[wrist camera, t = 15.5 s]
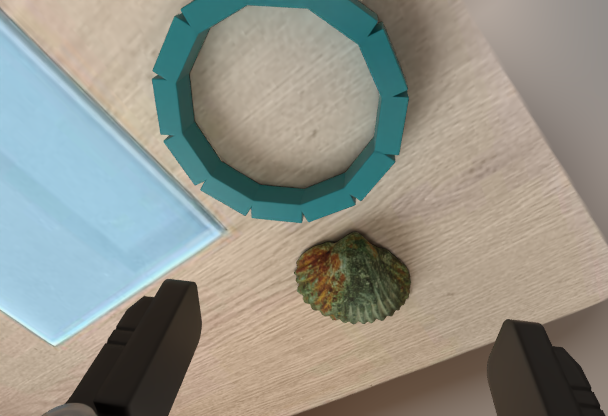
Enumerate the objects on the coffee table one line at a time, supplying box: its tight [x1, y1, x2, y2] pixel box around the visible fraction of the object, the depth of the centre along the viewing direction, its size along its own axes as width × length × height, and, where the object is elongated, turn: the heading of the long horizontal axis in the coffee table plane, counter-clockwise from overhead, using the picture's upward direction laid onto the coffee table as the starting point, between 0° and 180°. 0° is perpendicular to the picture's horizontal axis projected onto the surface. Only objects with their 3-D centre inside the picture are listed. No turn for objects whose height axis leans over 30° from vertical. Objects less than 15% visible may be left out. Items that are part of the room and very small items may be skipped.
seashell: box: [294, 232, 411, 324], centre depth 35 cm, size 10×4×10 cm
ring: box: [152, 0, 409, 223], centre depth 28 cm, size 16×16×2 cm
